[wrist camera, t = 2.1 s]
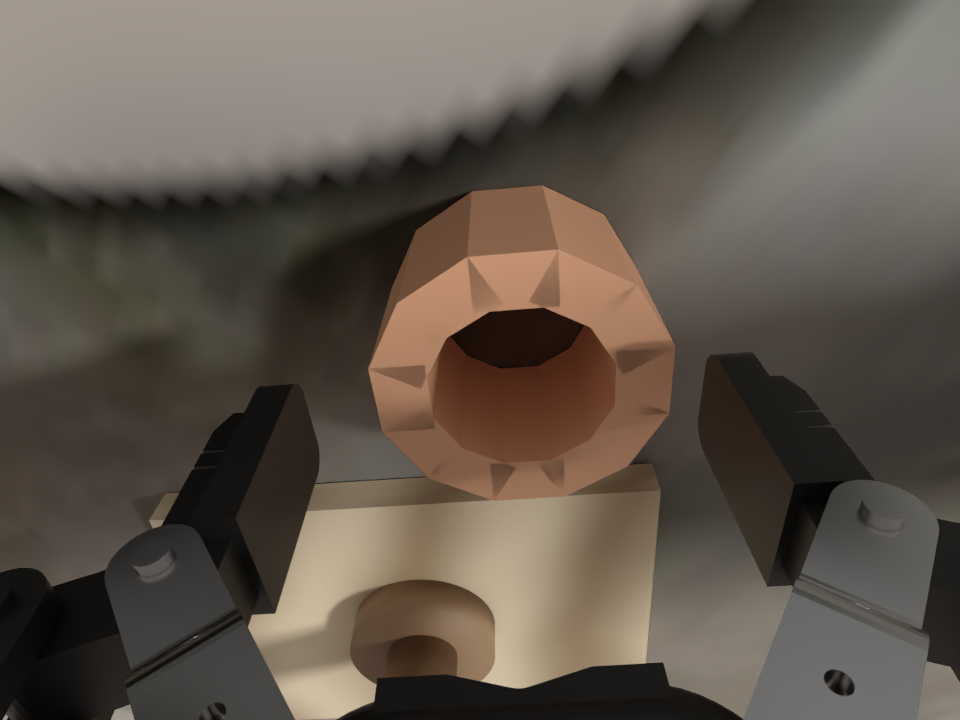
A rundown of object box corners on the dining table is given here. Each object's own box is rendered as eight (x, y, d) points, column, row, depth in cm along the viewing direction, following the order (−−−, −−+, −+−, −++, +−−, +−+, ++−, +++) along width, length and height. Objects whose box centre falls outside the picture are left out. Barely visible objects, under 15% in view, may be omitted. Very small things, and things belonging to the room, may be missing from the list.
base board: (652, 463, 20) (661, 490, 19) (635, 677, 26) (641, 706, 25) (165, 493, 21) (148, 520, 20) (265, 693, 27) (256, 721, 26)
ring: (640, 176, 15) (685, 238, 11) (630, 393, 18) (662, 490, 15) (376, 199, 15) (344, 266, 12) (414, 408, 19) (399, 506, 15)
